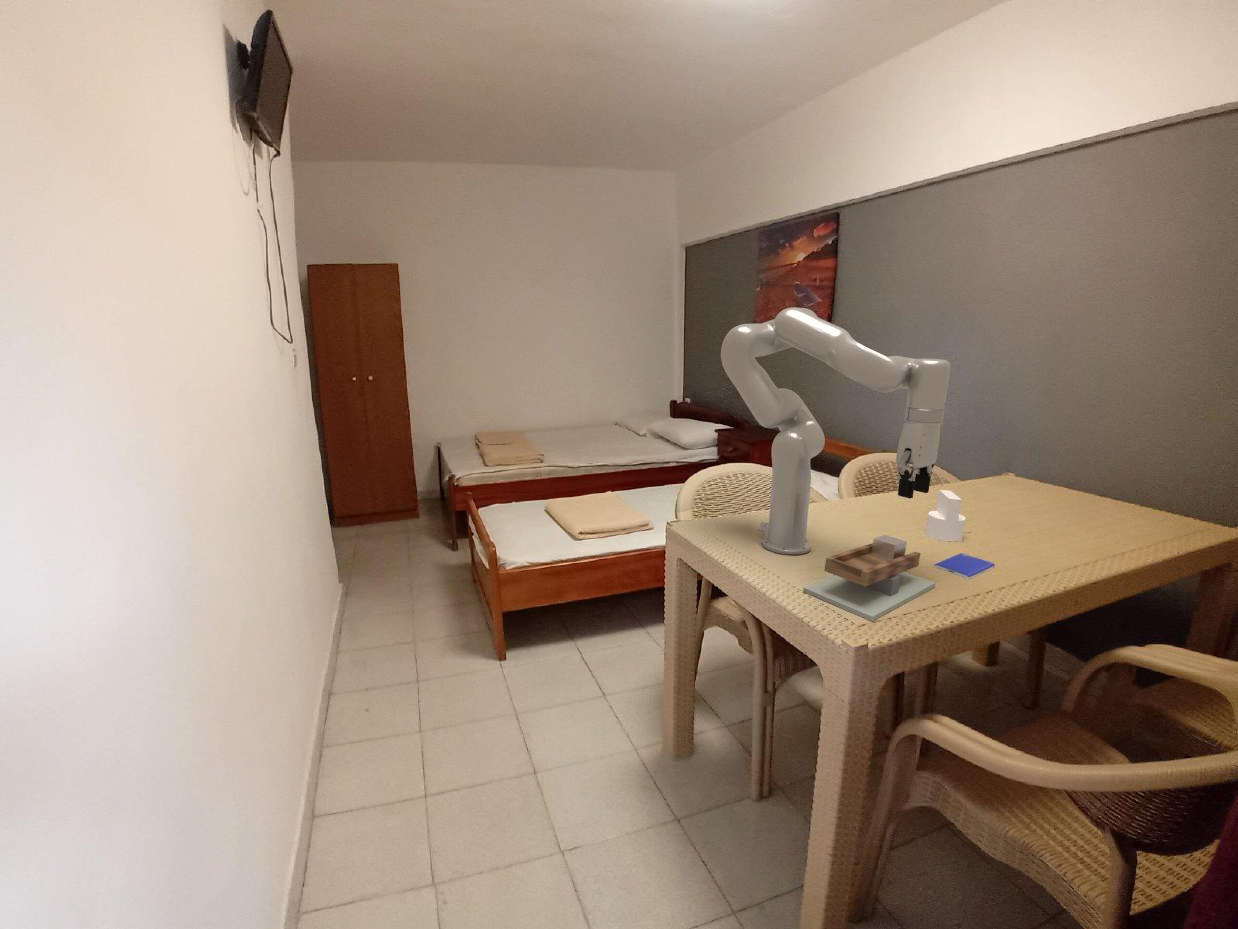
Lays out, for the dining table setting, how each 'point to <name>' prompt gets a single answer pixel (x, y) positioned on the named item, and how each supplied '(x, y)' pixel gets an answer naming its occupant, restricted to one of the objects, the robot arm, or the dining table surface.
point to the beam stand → (869, 593)
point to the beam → (868, 565)
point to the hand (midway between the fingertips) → (913, 493)
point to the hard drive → (964, 565)
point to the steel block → (888, 548)
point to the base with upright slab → (946, 518)
